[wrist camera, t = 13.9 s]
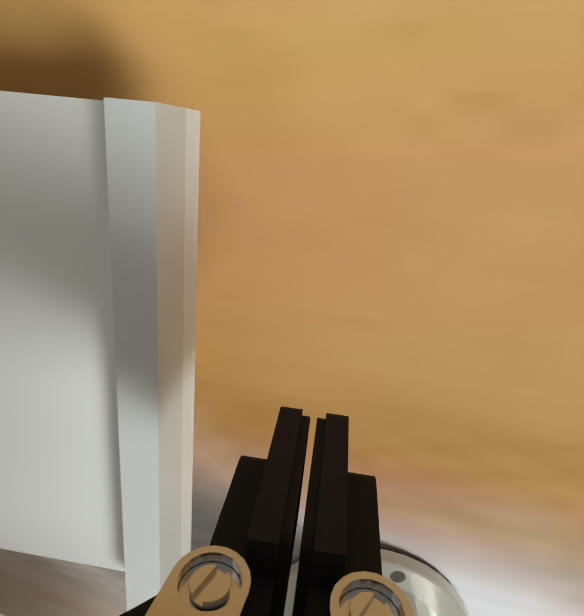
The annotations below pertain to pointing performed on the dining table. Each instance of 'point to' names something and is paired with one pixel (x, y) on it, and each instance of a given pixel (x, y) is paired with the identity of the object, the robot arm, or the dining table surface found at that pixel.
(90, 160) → the lid
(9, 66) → the dining table surface
